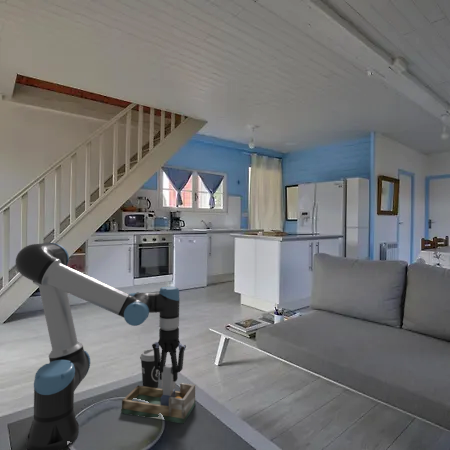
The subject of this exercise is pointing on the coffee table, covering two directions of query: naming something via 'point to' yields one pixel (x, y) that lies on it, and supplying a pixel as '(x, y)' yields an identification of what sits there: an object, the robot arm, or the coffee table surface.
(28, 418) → the coffee table surface
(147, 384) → the coffee cup
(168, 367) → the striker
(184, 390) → the wooden tray
